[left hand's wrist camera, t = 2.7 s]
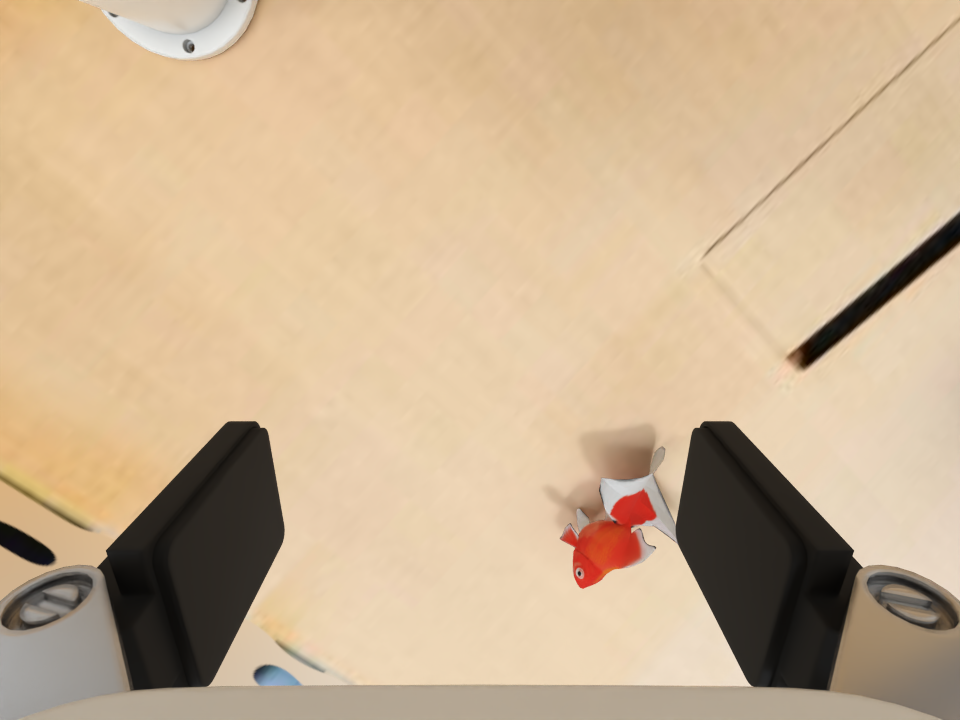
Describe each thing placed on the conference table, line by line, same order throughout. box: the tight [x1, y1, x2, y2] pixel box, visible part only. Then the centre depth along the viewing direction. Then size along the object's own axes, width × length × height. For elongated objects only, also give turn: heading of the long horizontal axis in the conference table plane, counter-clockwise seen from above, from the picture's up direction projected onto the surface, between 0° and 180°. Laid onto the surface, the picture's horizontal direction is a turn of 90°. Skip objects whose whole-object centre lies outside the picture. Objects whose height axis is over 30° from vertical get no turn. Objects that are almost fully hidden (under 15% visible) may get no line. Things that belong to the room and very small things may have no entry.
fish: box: [560, 447, 678, 589], centre depth 51 cm, size 11×16×10 cm
